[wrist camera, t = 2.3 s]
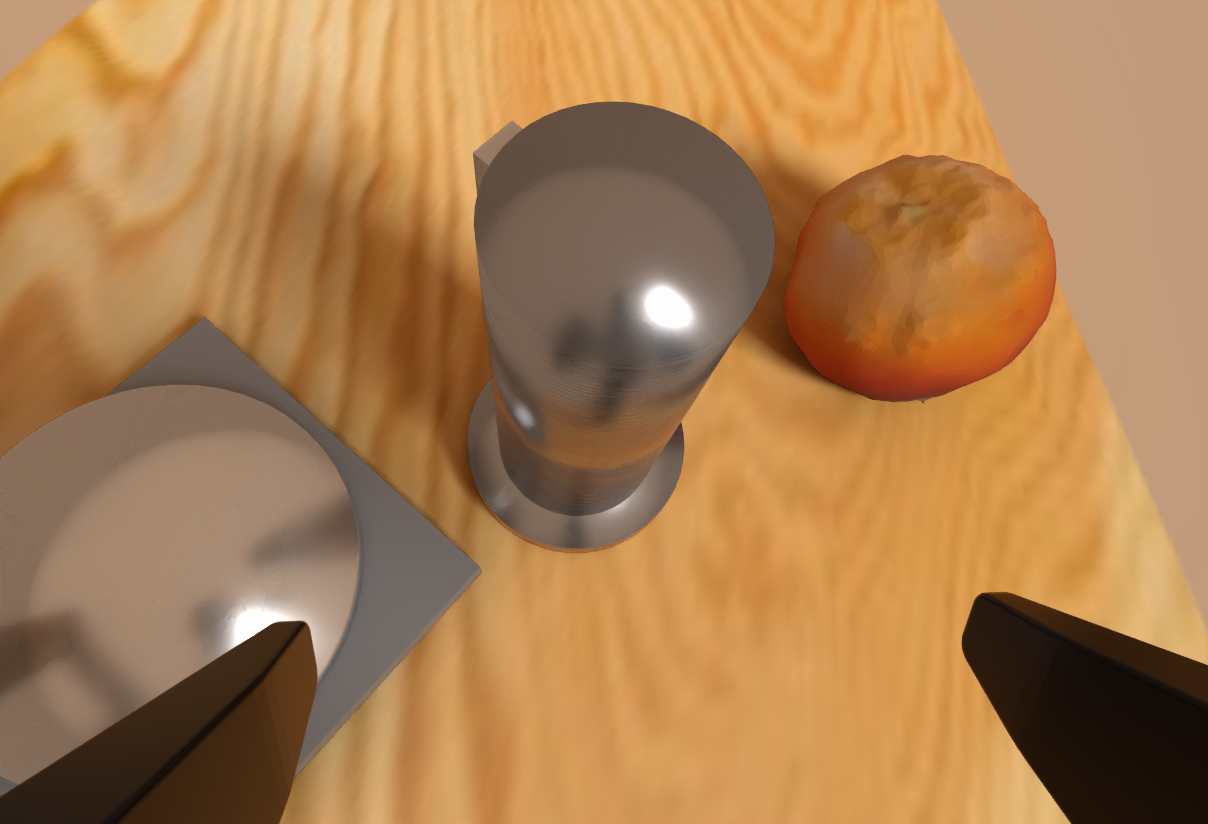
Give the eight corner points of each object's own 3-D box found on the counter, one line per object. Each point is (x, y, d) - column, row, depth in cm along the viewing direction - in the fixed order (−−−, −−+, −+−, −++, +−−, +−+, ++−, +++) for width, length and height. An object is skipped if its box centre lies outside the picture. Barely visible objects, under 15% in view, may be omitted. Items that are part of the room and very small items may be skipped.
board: (16, 1083, 17) (-20, 1112, 16) (-275, 733, 19) (-325, 737, 18) (482, 572, 22) (479, 567, 21) (219, 333, 24) (204, 317, 23)
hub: (585, 599, 22) (659, 520, 10) (424, 455, 23) (314, 225, 11) (718, 440, 25) (909, 220, 12) (565, 315, 26) (603, -3, 13)
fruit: (1007, 482, 24) (1029, 333, 18) (782, 424, 28) (736, 289, 22) (1066, 296, 26) (1103, 112, 20) (853, 270, 31) (830, 112, 25)
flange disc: (124, 896, 18) (106, 907, 17) (-148, 596, 19) (-175, 593, 18) (443, 557, 21) (440, 553, 20) (191, 327, 23) (180, 315, 22)
